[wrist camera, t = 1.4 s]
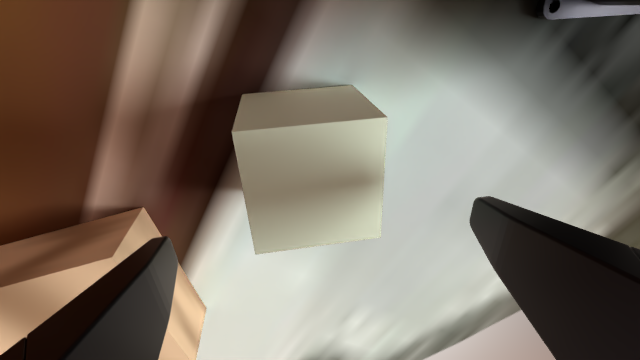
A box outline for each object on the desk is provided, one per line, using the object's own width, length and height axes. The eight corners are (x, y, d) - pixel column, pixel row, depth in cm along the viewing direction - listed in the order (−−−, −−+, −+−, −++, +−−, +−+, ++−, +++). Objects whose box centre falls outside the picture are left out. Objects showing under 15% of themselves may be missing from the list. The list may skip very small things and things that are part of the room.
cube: (351, 84, 15) (387, 117, 10) (351, 178, 17) (380, 237, 13) (242, 93, 14) (231, 131, 10) (258, 189, 17) (255, 254, 12)
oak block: (145, 203, 16) (112, 257, 13) (207, 304, 20) (194, 365, 17) (-8, 245, 16) (-84, 310, 13) (84, 338, 20) (46, 407, 17)
